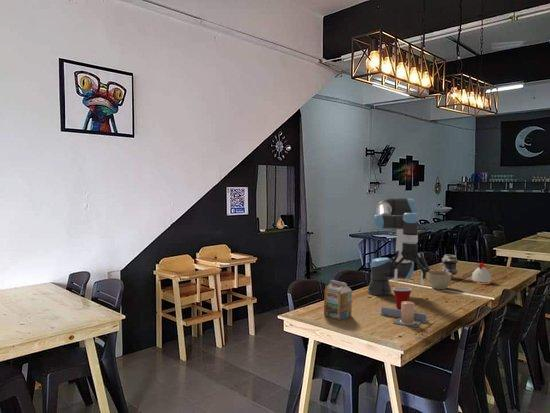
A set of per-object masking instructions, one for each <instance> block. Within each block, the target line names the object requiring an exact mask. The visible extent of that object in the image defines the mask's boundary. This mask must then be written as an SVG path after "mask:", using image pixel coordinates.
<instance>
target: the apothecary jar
mask: <svg viewBox="0 0 550 413" xmlns="http://www.w3.org/2000/svg"><path fill="white" fill-rule="evenodd" d="M441 262H442V268H441V269H440V271H445V272H449V273H451V274H452V275H451V280H456V279H455V278H456V277H454V276H456V275H457V273H458V269H457V263H459V260H458V258H457V256H456V254H455V255H454V254H444V255H443V257H442V258H441Z"/></svg>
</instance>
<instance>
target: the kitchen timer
mask: <svg viewBox="0 0 550 413" xmlns="http://www.w3.org/2000/svg"><path fill="white" fill-rule="evenodd" d="M485 266H486V265H485V264H484V262H480V263H479V264H478V267H477V268H475V270H474V271H472V273H471V277H470V278H471V279H470V282H471V281H474V282H480V283H488V282H492V274H490V272H489V270H488V269H487V268H486V267H485ZM492 283H493V282H492Z"/></svg>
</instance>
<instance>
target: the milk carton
mask: <svg viewBox="0 0 550 413" xmlns="http://www.w3.org/2000/svg"><path fill="white" fill-rule="evenodd" d="M323 296H324V299H323V316H324V315H325V316H324V317H327V316H329V317H328V318H330V317H332V318H331V319H334V318H335V319H334V320H337V319H338V320H337V321H341V319H342V320H344V319H348V318H350V317H352V308H353V306H352V305H353V304H352V303H353V290H352V289H351V288H350V287H349V286H348V284H347V282H344V281H338V280H335V279H334V280H333V279H330V282H329V283H328V284H327V285H326V287H325V289H324V295H323Z"/></svg>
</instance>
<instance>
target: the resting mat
mask: <svg viewBox="0 0 550 413" xmlns="http://www.w3.org/2000/svg"><path fill="white" fill-rule="evenodd" d="M422 323H423V322H422V321H417V320H414V323H412V324H406V323H402V322H401V318H400V317H397V319H395V320H394V321H393V322H392V324H395V325H399V326H400V325H401V326H405V327H410V328H416V329H417V328H418V327H419V326H420V325H421V324H422Z"/></svg>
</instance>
